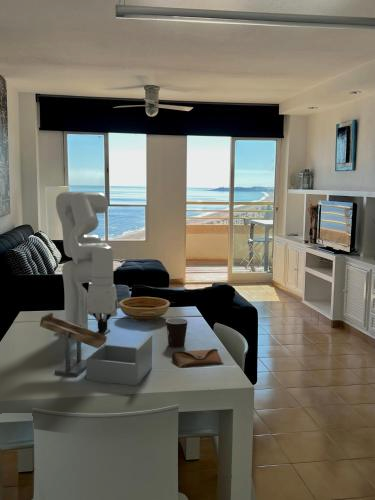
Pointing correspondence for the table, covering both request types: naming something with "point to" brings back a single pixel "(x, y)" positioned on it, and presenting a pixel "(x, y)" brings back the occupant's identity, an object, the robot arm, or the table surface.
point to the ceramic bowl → (144, 308)
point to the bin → (120, 363)
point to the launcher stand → (71, 360)
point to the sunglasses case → (196, 358)
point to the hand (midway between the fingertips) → (102, 331)
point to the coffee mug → (176, 332)
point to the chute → (74, 331)
